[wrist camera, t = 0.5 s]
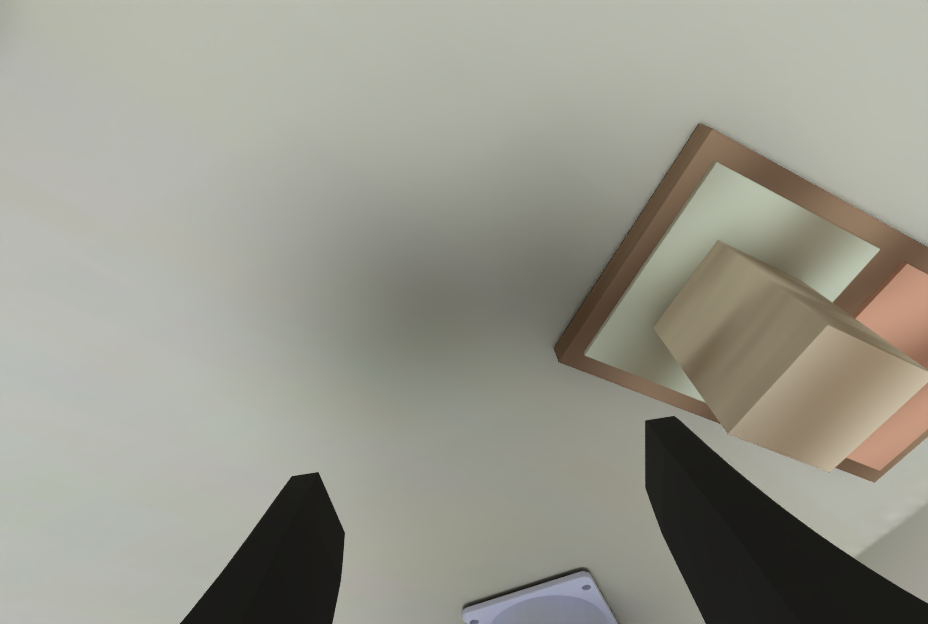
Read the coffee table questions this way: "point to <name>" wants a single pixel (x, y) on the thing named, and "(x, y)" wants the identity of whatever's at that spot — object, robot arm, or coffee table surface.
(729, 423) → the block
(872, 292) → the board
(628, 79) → the coffee table surface
